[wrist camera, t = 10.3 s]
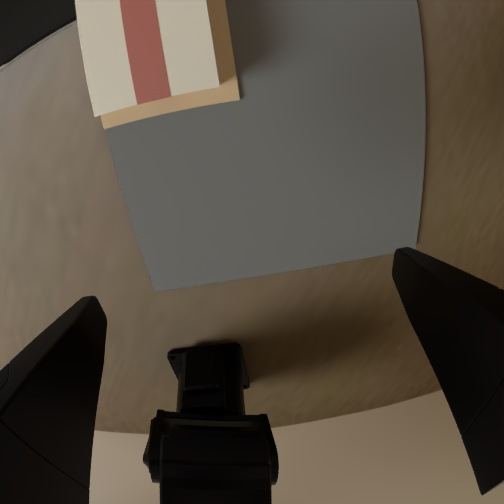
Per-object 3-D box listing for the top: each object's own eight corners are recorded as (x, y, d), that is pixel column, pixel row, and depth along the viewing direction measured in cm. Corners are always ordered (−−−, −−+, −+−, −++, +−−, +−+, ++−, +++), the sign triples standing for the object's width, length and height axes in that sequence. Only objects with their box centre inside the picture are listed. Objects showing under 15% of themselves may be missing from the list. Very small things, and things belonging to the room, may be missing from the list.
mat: (412, 245, 24) (417, 251, 23) (156, 287, 23) (154, 293, 23) (392, -87, 10) (397, -90, 9) (81, -63, 10) (77, -67, 9)
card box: (94, -39, 11) (70, -56, 8) (196, -67, 11) (191, -92, 8) (116, 108, 16) (94, 117, 13) (220, 85, 16) (219, 87, 13)
